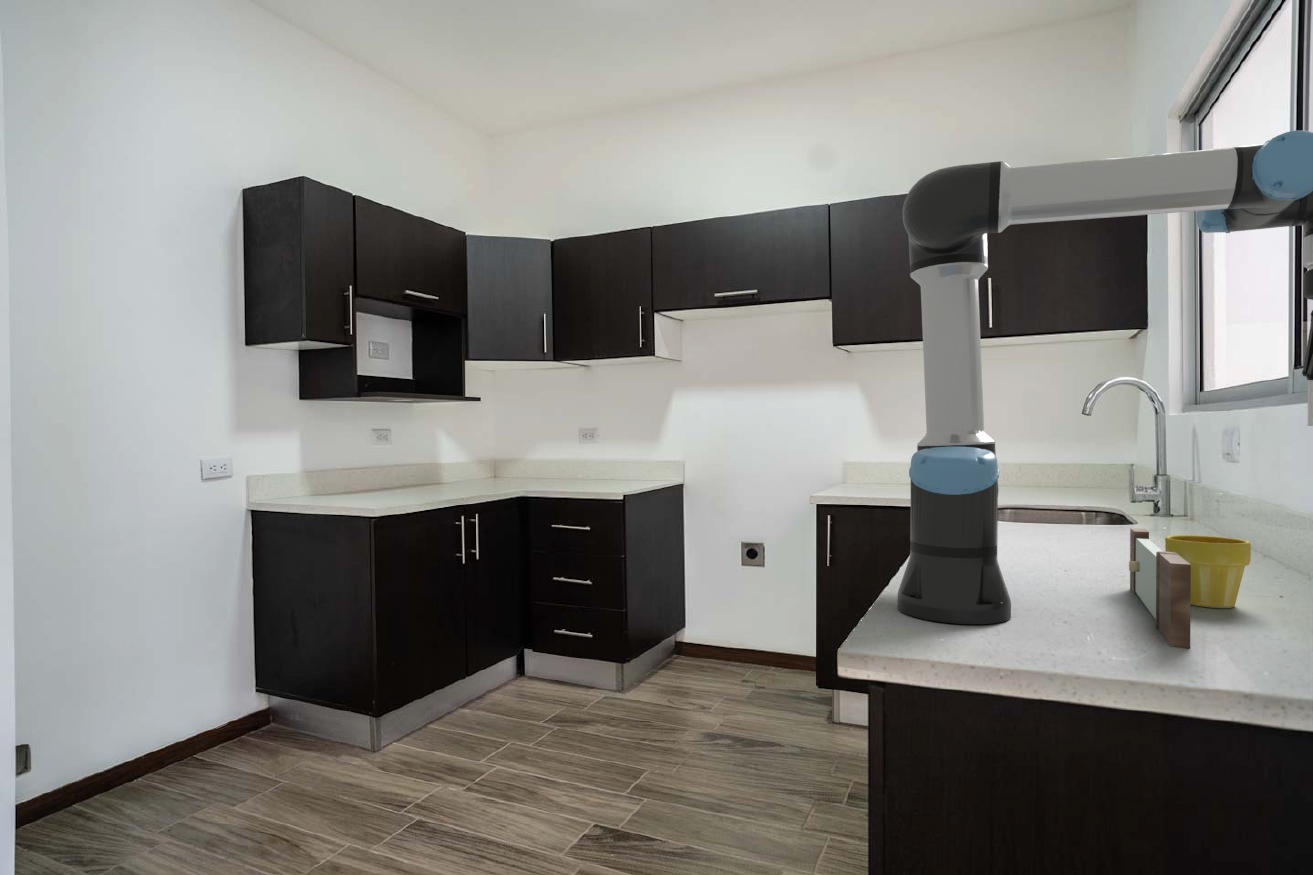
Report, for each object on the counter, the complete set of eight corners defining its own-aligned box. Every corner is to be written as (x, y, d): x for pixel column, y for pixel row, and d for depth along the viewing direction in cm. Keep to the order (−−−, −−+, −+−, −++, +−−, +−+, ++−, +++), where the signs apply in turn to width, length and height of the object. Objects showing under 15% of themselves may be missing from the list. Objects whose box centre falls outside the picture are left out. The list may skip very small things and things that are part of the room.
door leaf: (1147, 621, 101) (1147, 557, 101) (1126, 591, 120) (1126, 537, 120) (1172, 623, 100) (1172, 559, 100) (1147, 592, 119) (1147, 538, 119)
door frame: (1168, 645, 91) (1168, 563, 91) (1128, 588, 124) (1128, 528, 124) (1192, 648, 90) (1192, 564, 90) (1145, 590, 123) (1146, 528, 123)
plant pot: (1166, 593, 121) (1166, 532, 121) (1248, 601, 115) (1249, 537, 115) (1163, 605, 112) (1164, 539, 112) (1252, 615, 106) (1252, 545, 106)
